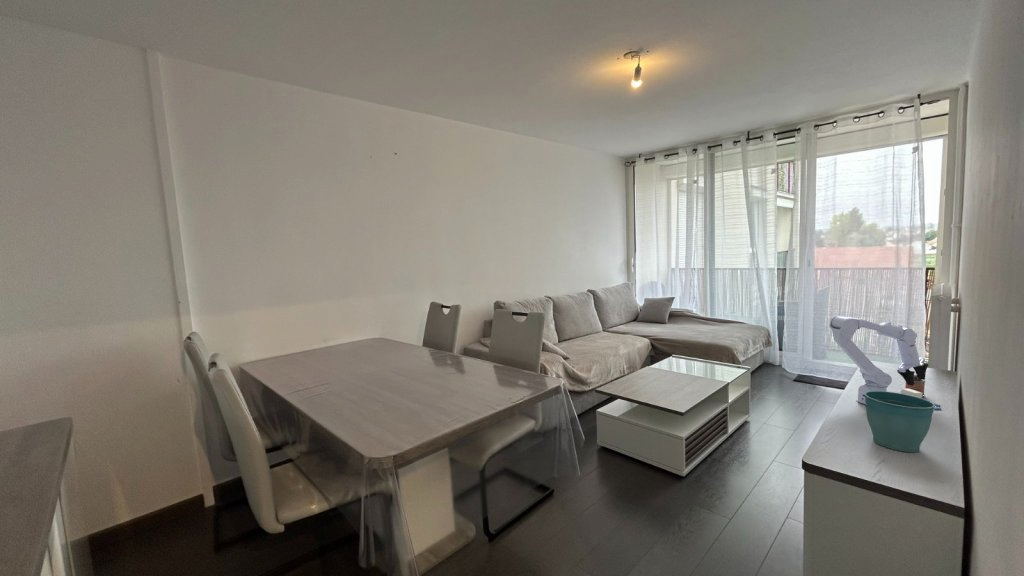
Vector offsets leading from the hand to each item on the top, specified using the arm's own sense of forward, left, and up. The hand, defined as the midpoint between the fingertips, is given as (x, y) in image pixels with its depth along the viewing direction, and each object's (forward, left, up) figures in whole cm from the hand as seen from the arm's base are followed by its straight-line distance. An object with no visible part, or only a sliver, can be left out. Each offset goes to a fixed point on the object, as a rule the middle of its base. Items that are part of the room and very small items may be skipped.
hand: (916, 382), depth 181 cm
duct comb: (+1, +1, -11) cm, 11 cm away
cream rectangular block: (-2, 0, -11) cm, 11 cm away
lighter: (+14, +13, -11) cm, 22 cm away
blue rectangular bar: (+3, -5, -11) cm, 12 cm away
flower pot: (-47, -36, -11) cm, 60 cm away
